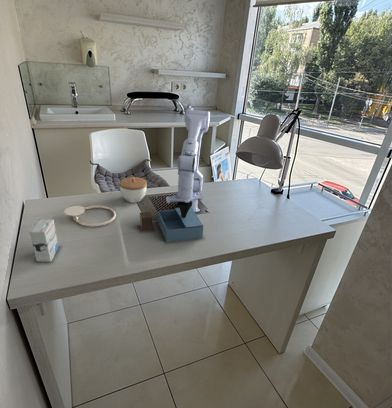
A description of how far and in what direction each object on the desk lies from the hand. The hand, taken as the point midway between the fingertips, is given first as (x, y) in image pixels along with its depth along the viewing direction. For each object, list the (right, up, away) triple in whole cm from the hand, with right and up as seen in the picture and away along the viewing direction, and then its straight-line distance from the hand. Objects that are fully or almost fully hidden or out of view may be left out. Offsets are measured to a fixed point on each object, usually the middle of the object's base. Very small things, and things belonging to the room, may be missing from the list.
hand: (183, 216), depth 119 cm
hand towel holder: (-39, 0, +5) cm, 40 cm away
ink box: (-46, -13, -18) cm, 51 cm away
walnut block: (-15, -5, +2) cm, 16 cm away
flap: (+2, 0, +1) cm, 2 cm away
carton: (-2, -5, +3) cm, 6 cm away
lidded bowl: (-25, +9, +23) cm, 35 cm away
